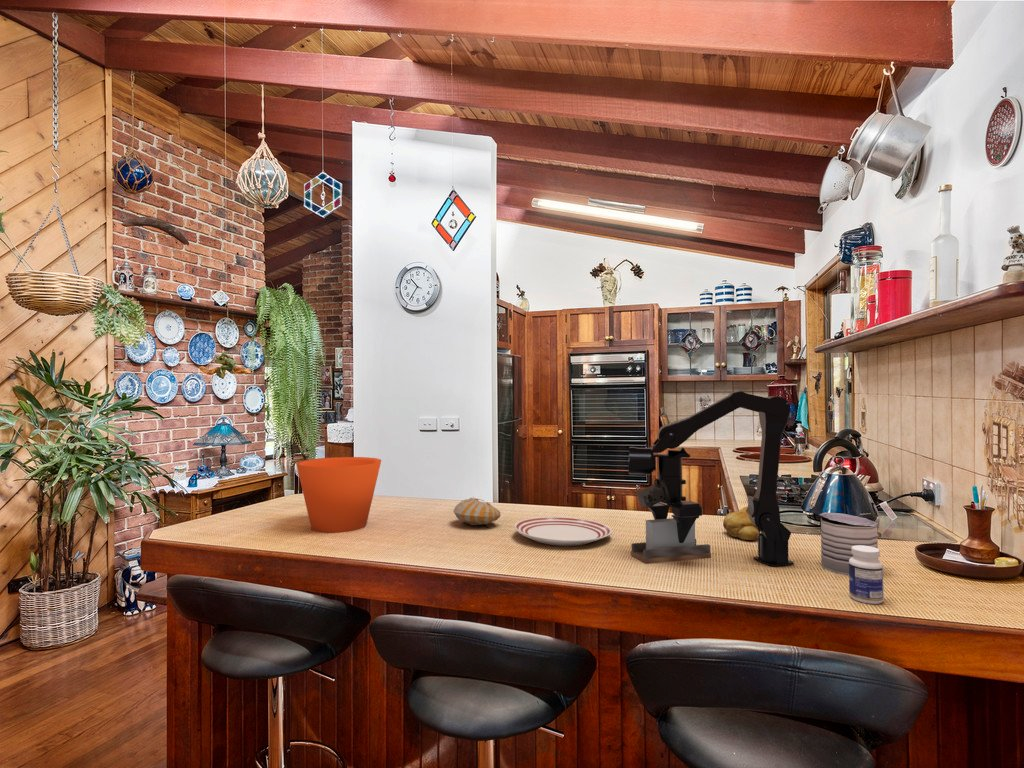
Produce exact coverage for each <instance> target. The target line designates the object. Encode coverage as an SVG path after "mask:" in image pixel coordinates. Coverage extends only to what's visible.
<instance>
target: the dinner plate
mask: <svg viewBox="0 0 1024 768" xmlns="http://www.w3.org/2000/svg"><path fill="white" fill-rule="evenodd" d="M513 529H514V530H515V531H516V532H517V533H519V534H520V535H522V536H524V537H525V538H528V539H530V540H533V541H535V542H538V543H541V544H545V545H552V546H557V547H558V546H559V547H562V546H563V547H570V546H571V547H572V546H573V547H574V546H583V545H587V544H591V543H592V542H593V543H594V542H596V541H599V540H601V539H604V538H606V537H609V536H611V534H612V532H613V530H612V528H611V527H610V526H608V525H606V524H604V523H602V522H598V521H595V520H592V519H587V518H579V517H570V516H569V517H568V516H538V517H530V518H525V519H522V520H519V521H517V522H516V523H515V524H514V525H513Z"/></svg>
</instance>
